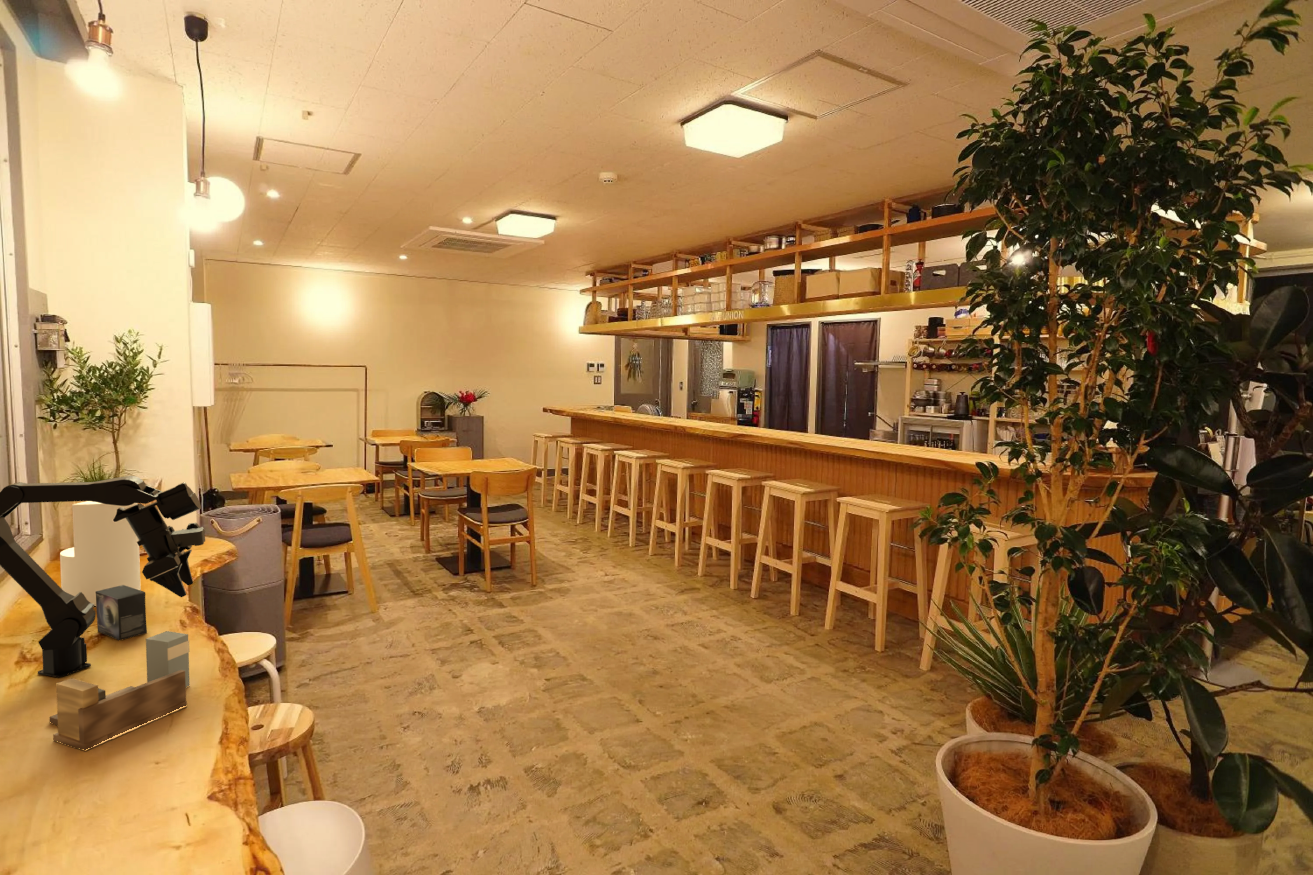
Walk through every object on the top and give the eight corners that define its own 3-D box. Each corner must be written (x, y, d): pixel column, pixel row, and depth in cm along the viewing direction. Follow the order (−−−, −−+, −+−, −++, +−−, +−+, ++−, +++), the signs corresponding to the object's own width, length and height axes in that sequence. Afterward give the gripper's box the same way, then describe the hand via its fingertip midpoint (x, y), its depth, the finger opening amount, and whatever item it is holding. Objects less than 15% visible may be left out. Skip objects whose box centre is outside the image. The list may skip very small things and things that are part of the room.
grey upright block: (169, 695, 139) (168, 642, 138) (147, 691, 140) (145, 638, 139) (190, 686, 143) (188, 634, 142) (168, 682, 144) (167, 630, 143)
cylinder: (155, 589, 204) (152, 494, 201) (108, 608, 186) (104, 505, 184) (97, 587, 204) (93, 492, 202) (44, 606, 187) (40, 503, 184)
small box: (94, 632, 170) (93, 590, 169) (125, 624, 176) (123, 583, 175) (117, 641, 165) (116, 598, 164) (148, 632, 171) (146, 591, 170)
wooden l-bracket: (85, 751, 118) (82, 693, 117) (26, 731, 123) (24, 676, 123) (186, 707, 134) (185, 655, 133) (131, 691, 140) (129, 642, 139)
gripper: (183, 521, 147) (220, 584, 151) (197, 505, 164) (230, 562, 168) (124, 545, 143) (164, 609, 147) (145, 527, 160) (180, 585, 164)
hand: (187, 590), depth 157 cm, fingers open, 9 cm apart
